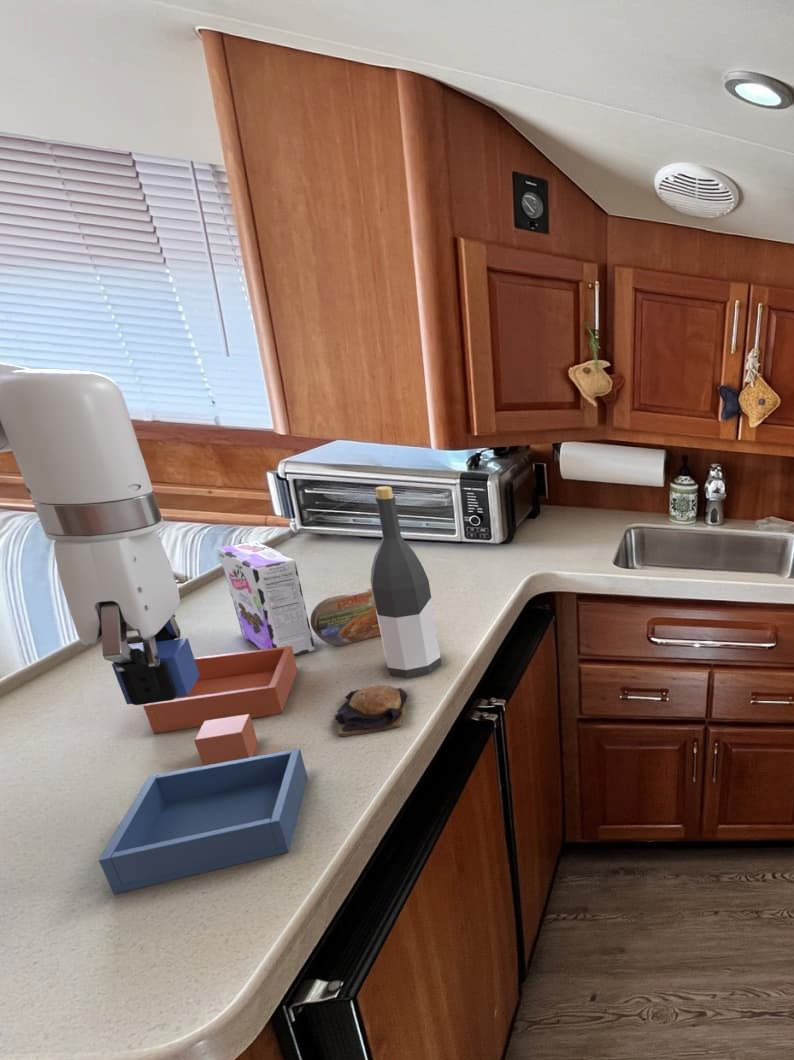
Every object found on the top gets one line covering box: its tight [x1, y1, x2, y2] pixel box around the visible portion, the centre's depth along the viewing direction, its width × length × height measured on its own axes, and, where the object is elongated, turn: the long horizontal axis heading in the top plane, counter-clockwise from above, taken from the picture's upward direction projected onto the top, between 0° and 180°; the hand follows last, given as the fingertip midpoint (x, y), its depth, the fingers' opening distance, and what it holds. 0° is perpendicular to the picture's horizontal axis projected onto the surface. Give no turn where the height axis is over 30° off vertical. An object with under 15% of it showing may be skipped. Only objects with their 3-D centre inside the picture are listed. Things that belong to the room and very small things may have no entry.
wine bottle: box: [370, 485, 442, 679], centre depth 99 cm, size 8×8×30 cm
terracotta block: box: [193, 714, 259, 766], centre depth 80 cm, size 4×4×4 cm
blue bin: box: [98, 748, 308, 895], centre depth 69 cm, size 14×14×4 cm
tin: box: [310, 587, 381, 646], centre depth 112 cm, size 15×3×8 cm, turn 141°
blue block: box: [111, 638, 200, 705], centre depth 64 cm, size 4×4×4 cm
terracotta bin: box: [143, 646, 299, 734], centre depth 92 cm, size 14×14×4 cm
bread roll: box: [334, 684, 408, 737], centre depth 91 cm, size 11×8×4 cm
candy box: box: [217, 540, 316, 657], centre depth 105 cm, size 14×6×16 cm, turn 57°
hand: (163, 686), depth 64 cm, fingers closed on blue block, 4 cm apart
